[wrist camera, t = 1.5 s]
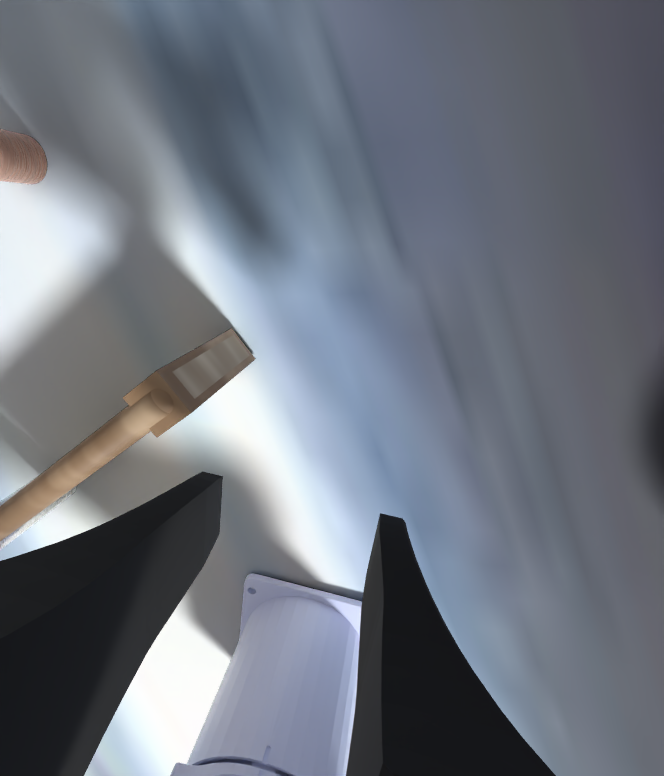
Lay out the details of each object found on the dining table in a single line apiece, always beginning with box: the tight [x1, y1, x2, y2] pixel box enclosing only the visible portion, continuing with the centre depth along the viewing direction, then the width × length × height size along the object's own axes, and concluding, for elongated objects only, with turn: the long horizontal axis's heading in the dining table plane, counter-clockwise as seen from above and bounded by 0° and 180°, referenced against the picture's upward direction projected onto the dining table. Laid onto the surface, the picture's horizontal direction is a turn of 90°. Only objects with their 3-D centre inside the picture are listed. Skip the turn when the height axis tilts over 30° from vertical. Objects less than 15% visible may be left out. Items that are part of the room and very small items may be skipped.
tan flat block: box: [0, 328, 255, 541], centre depth 20 cm, size 14×2×7 cm, turn 127°
